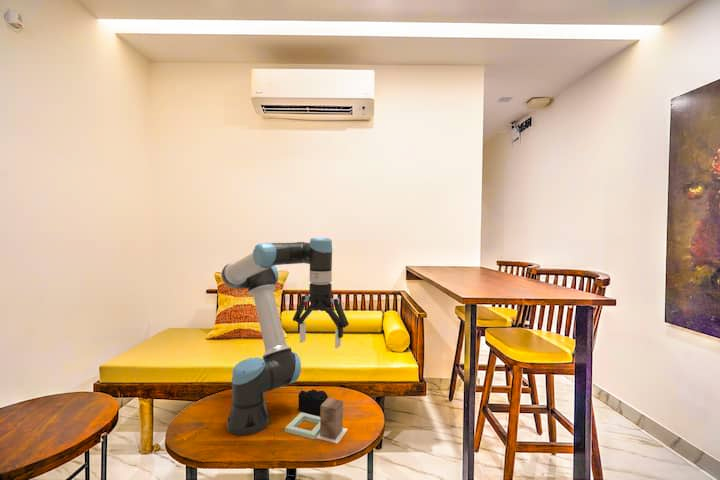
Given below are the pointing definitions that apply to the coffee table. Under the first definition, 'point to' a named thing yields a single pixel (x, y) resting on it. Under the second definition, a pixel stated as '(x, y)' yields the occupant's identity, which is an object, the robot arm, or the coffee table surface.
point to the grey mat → (333, 439)
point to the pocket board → (294, 429)
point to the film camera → (311, 401)
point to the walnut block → (331, 418)
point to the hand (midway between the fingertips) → (319, 344)
